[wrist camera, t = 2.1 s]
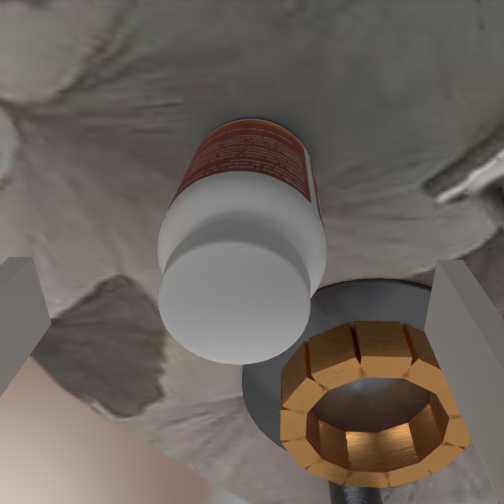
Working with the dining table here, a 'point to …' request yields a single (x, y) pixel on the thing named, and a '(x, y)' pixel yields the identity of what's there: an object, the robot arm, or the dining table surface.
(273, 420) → the round base with peg
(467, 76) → the dining table surface
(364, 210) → the dining table surface
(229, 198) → the pill bottle
